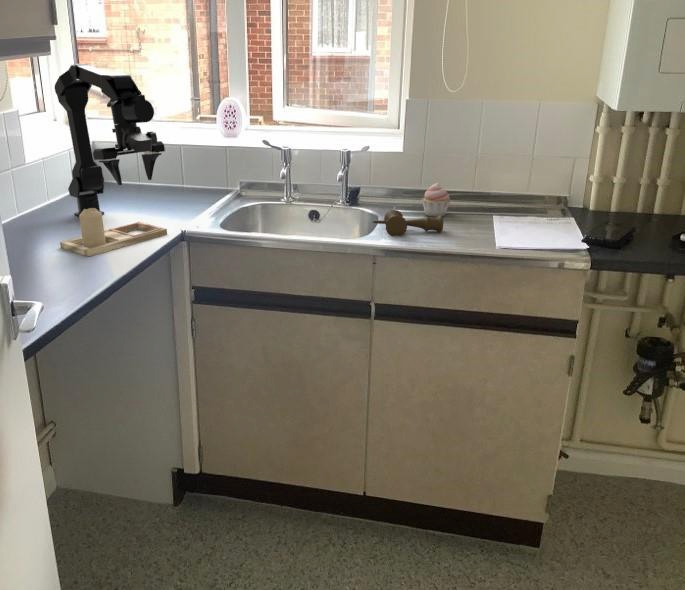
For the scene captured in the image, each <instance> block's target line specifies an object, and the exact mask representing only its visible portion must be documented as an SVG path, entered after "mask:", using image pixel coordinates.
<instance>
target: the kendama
mask: <svg viewBox="0 0 685 590" xmlns="http://www.w3.org/2000/svg"><path fill="white" fill-rule="evenodd" d="M372 223H373V224H379V225H381V224H382V225H385V231H386V232H387V234H388V235H389V236H391V237H401V236H403V235H405V233H406V232H407V229H408V227H413V228H419V229H422V230H424V231H425V232H428V231H436V232H437V233H439V234H441V233H442V232H443V229H444V216H442V215H439V216H438V217H431V216H427V215H425V216H424V217H423V218H416V219H405V217H404V216H403V214H402V212H401V211H399V210H397V209H390V210H388V211H387V212H386V213H385V214H384V216H383V220H373V221H372Z"/></svg>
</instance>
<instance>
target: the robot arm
mask: <svg viewBox="0 0 685 590" xmlns="http://www.w3.org/2000/svg"><path fill="white" fill-rule="evenodd" d="M93 86H95V87H97V88H100V90H101V93H102V94H103V95H105V96H106V97H107V98H109V101H108V102H107V104H106V107H107V108H110V109H111V110H110V111H111V116H112V120H113V128H111V130H112V133H115V138H116V144H114V147H113V146H112V147H110V146H109V147H107V146H106V147H100V148H94V149H93V150H92V145H91V142H90V135H89V134H90V133H89V128H88V123H87V122H88V121H87V116H86V113H85V110H86V107H87V106H88V105H87V104H88V102H89V91H90V90H91V88H92V87H93ZM54 92H55V95H56V96H57V97H56V98H57V100H58V103H59V104H60V105H61V106H62V107H63V109H64V110H65V111H66V117H67V120H68V127H69V130H70V131H69V132H70V136H71V142H72V148H73V155H74V159H75V163H74V166H73V168H72V170H71V176H72V179H71V182H70V183H69V186H68V189H67V190H68V194H69V196H70V197H73V198H76V203H77V212H74V213H73V215H75V216H78V217H79V215H80V214H81V213H82V211H83V210H84V209H89V208H96V209H97V210H98V211H99V212H101V213H102V215H104V214H105V211H101V208H100V202H99V198H98V197H99V194H101V195H102V194H104V189H105V188H104V187H105V177H104V175H103V168H102V167H101V165H98V164H97V163H96V162H95V161H98V162H99V163H102V164H103V165H104V166H105V168H106V169H107V170H108V172H109V173H110V174H111V176H112V177H113V179H114V180H115V182H116V183H117V185H118V186H122V185H123V184H122V183H123V182H122V181H123V180H122V175H121V170H120V160H121V159H120V158H119V159H118V158H117V157H118V156H124V155H130V154H131V155H132V154H137V153H143V154H141V158H142V162H143V166H144V167H143V168H144V169H145V175H146V177H147V180H148V181H151V180H152V178H153V173H154V168H155V163H156V161H157V159H158V157H160V156H161V155H162V154H163V152H166V147H165V144H164V143H163V141H159V140H158V137H157V132H156V131H151V130H150V131H147V132H146V133H142V130H141V127H140V126H138V124H139V123H140V124H141V123H148V122H151V121H152V119H153V118H154V116H155V108H154V106H153V105H152V103H151V102H150V101H149V100H147V99H146V95H145V94H142V91H141V90H140V89H139V88H138V86H137V84H136V82H135V80H134V79H133V77H132V76H131V75H130V74H128V73H110V72H108V71H105V70H102V69H100V68H96V67H94V66H92V65H91V64H88V63H74V64H71V65H70V67H69V68H68V70H66V71H65V72H63V73H62V74H61V75H59V76H58V78H57V79H56V82H55V84H54Z"/></svg>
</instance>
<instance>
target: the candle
mask: <svg viewBox="0 0 685 590" xmlns="http://www.w3.org/2000/svg"><path fill="white" fill-rule="evenodd" d="M78 217H79V223H80V224H79V225H80V231H81V237H82V239H83V244H82V246H84V247H87V248H92V247H96V246H100V245H103V244H107V242H106V241H105V234H104V231H105V228H104V220H103V219H104V218H103V214H102V213H101V212H99V211H98V210H97V209H96V208H89V209H84V210H83V211H82V213H81V214H80V215H79V216H78Z"/></svg>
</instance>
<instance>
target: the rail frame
mask: <svg viewBox="0 0 685 590" xmlns="http://www.w3.org/2000/svg"><path fill="white" fill-rule="evenodd" d="M135 229H136V230H142V231H144V232H141V233H137V234H132V233H128V232H126V231H129V232H131V230H132V231H135ZM104 234H105V242H106V244H103V245H100V246H96V247H92V248H87V247H84V246H83V239H82V236H78V237H75V238H71V239H66V240H62V241H60V242H59V245H60V249H64V250H66V251H70V252H73V253H77V254H78V255H83V256H86V257H92V256H96V255H99V254H103V253H105V252H109V251H113V250H116V249H115V248H117V249H119V248H118V247H120V248H123V247H122V246H124V247H126V246H125V245H127V246H130V245H129V244H131V245H133V243H134V244H137V243H140V242H144V241H148V240H152V239H155V238H159V237H161V236H165V235H168V228H166V227H161V226H156V225H152V224H149V223H147V222H146V223H144V222H142V221H137V222H133V223H129V224H125V225H121V226H117V227H113V228H110V229H106V230H105V229H104ZM112 249H113V250H112Z"/></svg>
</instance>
